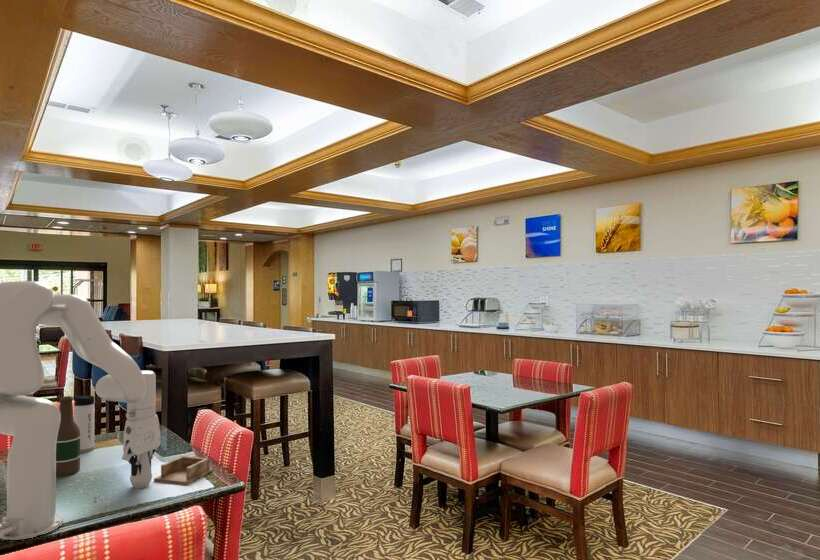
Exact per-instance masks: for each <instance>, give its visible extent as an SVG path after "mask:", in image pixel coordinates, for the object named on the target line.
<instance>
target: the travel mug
mask: <svg viewBox="0 0 820 560" xmlns="http://www.w3.org/2000/svg"><path fill="white" fill-rule="evenodd" d="M72 397H73V399H74V406H73V407H74V409H73V419H74V422H75V423H76V424H77V425H78V427H79V430H80V454H82V453H88V452H90V451H93V450H94V449H95V403H96V402H95V396H94V395H90V394H89V395H88V394H83V395H81V394H80V395H76V394H74V395H73V396H72Z"/></svg>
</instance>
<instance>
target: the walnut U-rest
mask: <svg viewBox="0 0 820 560" xmlns="http://www.w3.org/2000/svg"><path fill="white" fill-rule="evenodd" d="M210 461H211V459H210V457H209V458H208V457H199V456H190V455H189V456H188V455H181V456H178V457H176V458H174V459H172V460H170V461H167V462H164V463H163V464H161V466H160V475H159V476H156V477H155V478H153V482H158V483H166V484H172V485H173V484H175V485H182V484H183V485H184V486H189V485H190V483H191V484H193V483H194V482H196V481H197V479H198V480H200V479H202V478H203V476H204V475H206V474H207V475H209V474H211V473H213V472H214V468H210V464H211V463H210ZM212 471H213V472H212ZM210 472H211V473H210ZM208 473H209V474H208ZM207 475H206V476H207ZM201 477H202V478H201ZM204 477H205V476H204ZM199 478H200V479H199ZM188 484H189V485H188Z"/></svg>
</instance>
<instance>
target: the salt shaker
mask: <svg viewBox="0 0 820 560" xmlns="http://www.w3.org/2000/svg"><path fill="white" fill-rule="evenodd" d="M134 458H135V459H136V456H134ZM140 464H142V467H141V474H140V473H139V467H138V471H137V475H136V476H132V473H131V472H130V477H129V481H130V484H131V485H132V488H133V489H143V488H146V487H148V486H149V485H150V483H151V481H152V479H153V474H152V466H151V467H150V462H149V457H148V452H146V453H144V454H141V456H140Z"/></svg>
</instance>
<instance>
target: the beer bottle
mask: <svg viewBox="0 0 820 560" xmlns="http://www.w3.org/2000/svg"><path fill="white" fill-rule="evenodd" d="M73 400H74V398H73V396H71V395H70V396H62V397H60V398H59V400H58V402H59V410H60V413H61V421H60V426H59V431H58V435H57V443H56V478H58V477H59V478H60V477H66V476H67V477H68V476H72V475H75V474H76V472H77V473H78V472H79V471H80V469H81V453H80V430H79V427H78V425H77V424H76V423H75V422H74V409H73V407H74V406H73ZM71 474H72V475H71Z"/></svg>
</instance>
